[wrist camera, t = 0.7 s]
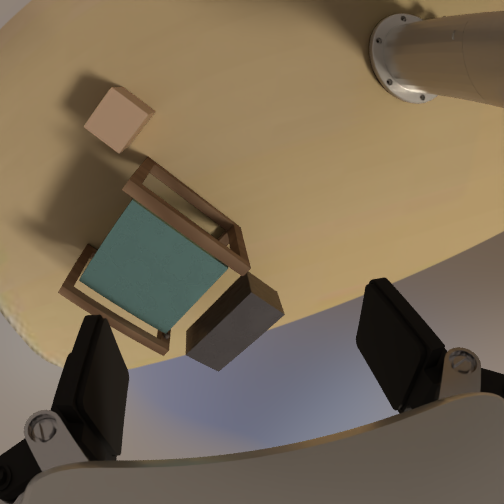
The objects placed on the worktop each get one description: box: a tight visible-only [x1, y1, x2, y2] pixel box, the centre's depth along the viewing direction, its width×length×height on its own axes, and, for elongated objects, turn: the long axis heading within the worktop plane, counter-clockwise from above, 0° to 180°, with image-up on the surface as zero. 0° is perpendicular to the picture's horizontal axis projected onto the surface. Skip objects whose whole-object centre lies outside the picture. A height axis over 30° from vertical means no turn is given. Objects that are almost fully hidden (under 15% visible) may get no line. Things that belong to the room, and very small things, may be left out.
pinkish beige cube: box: [84, 87, 156, 153], centre depth 31 cm, size 5×5×5 cm
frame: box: [58, 157, 251, 356], centre depth 36 cm, size 16×14×10 cm
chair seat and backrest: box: [79, 198, 285, 371], centre depth 35 cm, size 12×20×4 cm, turn 47°
